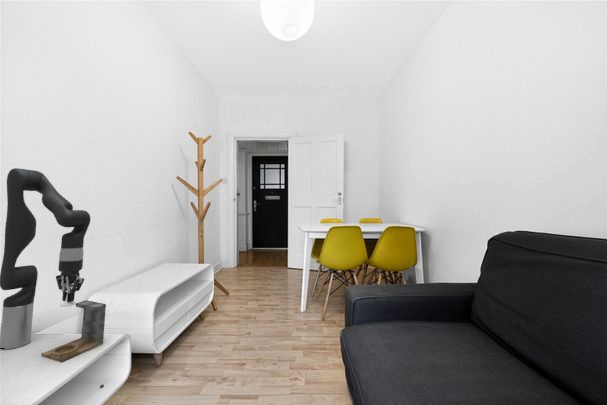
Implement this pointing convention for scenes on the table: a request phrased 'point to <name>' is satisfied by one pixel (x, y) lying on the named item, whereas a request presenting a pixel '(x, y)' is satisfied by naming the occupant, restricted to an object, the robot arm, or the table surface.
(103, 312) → the base
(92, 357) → the table surface
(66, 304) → the chess piece
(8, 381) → the table surface
